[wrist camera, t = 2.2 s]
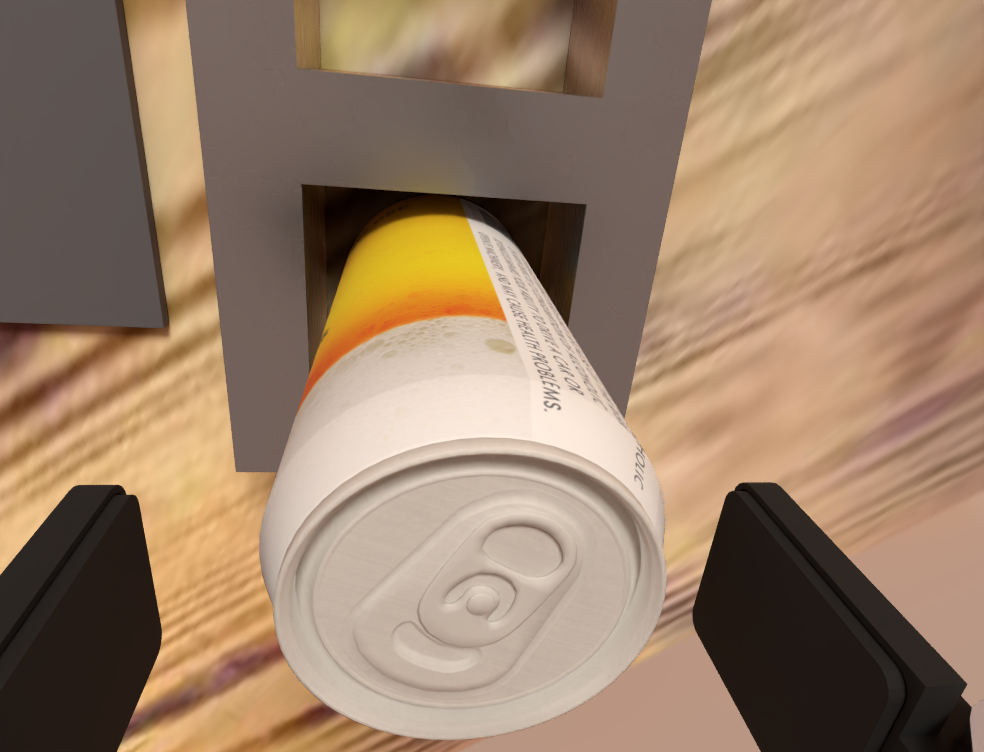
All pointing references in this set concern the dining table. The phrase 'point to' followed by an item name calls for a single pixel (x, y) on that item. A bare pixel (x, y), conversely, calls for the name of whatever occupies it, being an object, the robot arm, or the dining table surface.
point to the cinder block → (430, 178)
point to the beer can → (457, 494)
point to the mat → (73, 171)
